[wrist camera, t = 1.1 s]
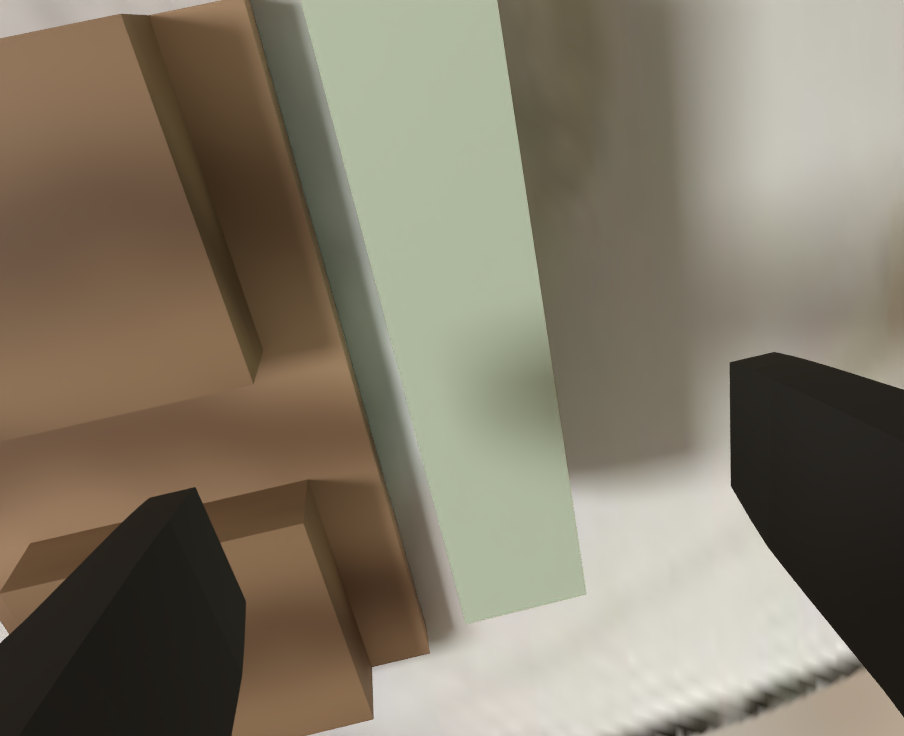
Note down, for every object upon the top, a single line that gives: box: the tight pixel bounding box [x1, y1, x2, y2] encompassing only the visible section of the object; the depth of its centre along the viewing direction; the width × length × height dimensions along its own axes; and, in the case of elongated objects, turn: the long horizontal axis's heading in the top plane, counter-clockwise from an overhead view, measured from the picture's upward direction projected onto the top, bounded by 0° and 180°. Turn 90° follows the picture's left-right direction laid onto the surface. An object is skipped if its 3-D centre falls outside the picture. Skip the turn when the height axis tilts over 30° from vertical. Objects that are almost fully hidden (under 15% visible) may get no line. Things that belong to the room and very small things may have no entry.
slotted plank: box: [0, 0, 430, 736], centre depth 19 cm, size 20×12×3 cm, turn 10°
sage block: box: [301, 0, 586, 624], centre depth 16 cm, size 14×3×6 cm, turn 11°
